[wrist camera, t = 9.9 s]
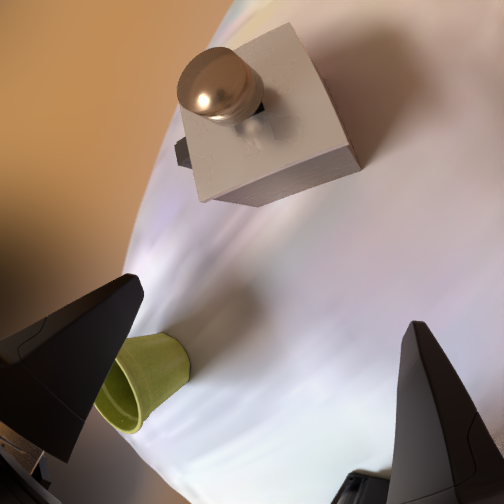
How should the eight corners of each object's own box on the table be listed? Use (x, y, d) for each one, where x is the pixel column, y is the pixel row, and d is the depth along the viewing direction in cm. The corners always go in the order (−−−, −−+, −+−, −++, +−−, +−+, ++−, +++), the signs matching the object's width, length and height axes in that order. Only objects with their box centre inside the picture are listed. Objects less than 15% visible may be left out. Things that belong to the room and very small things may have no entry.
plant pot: (171, 300, 28) (97, 318, 20) (222, 383, 25) (157, 426, 18) (131, 338, 31) (70, 357, 24) (171, 407, 29) (114, 439, 22)
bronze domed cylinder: (314, 145, 19) (248, 86, 11) (268, 163, 20) (182, 125, 12) (298, 103, 19) (229, 35, 11) (255, 122, 21) (173, 72, 13)
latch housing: (365, 172, 18) (347, 141, 12) (235, 218, 24) (175, 213, 17) (322, 73, 19) (289, 22, 13) (212, 126, 24) (156, 101, 18)
